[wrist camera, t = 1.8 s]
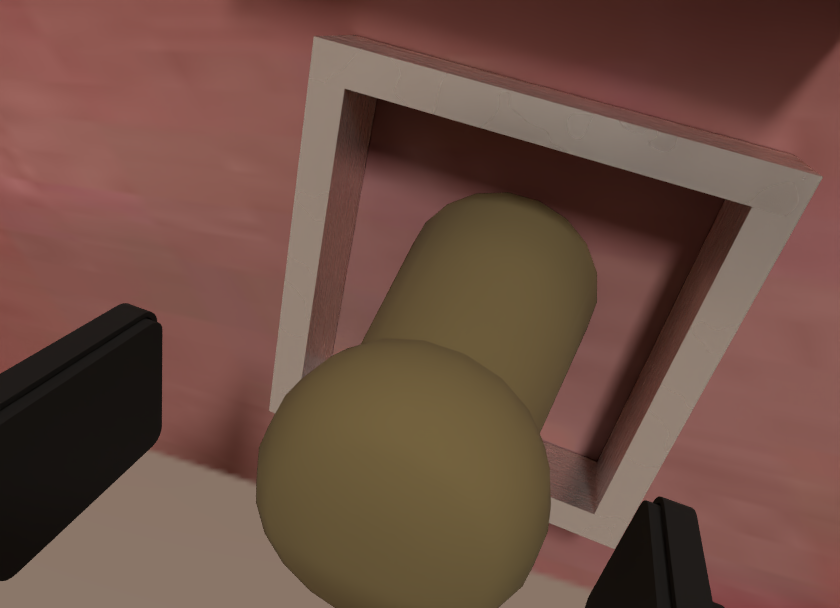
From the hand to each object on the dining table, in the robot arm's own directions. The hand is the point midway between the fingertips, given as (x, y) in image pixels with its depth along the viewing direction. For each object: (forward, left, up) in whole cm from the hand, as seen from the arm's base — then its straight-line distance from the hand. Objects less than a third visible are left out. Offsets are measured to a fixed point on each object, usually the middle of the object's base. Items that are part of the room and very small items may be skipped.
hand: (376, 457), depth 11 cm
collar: (-1, 0, -9) cm, 9 cm away
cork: (-1, 0, -9) cm, 9 cm away
